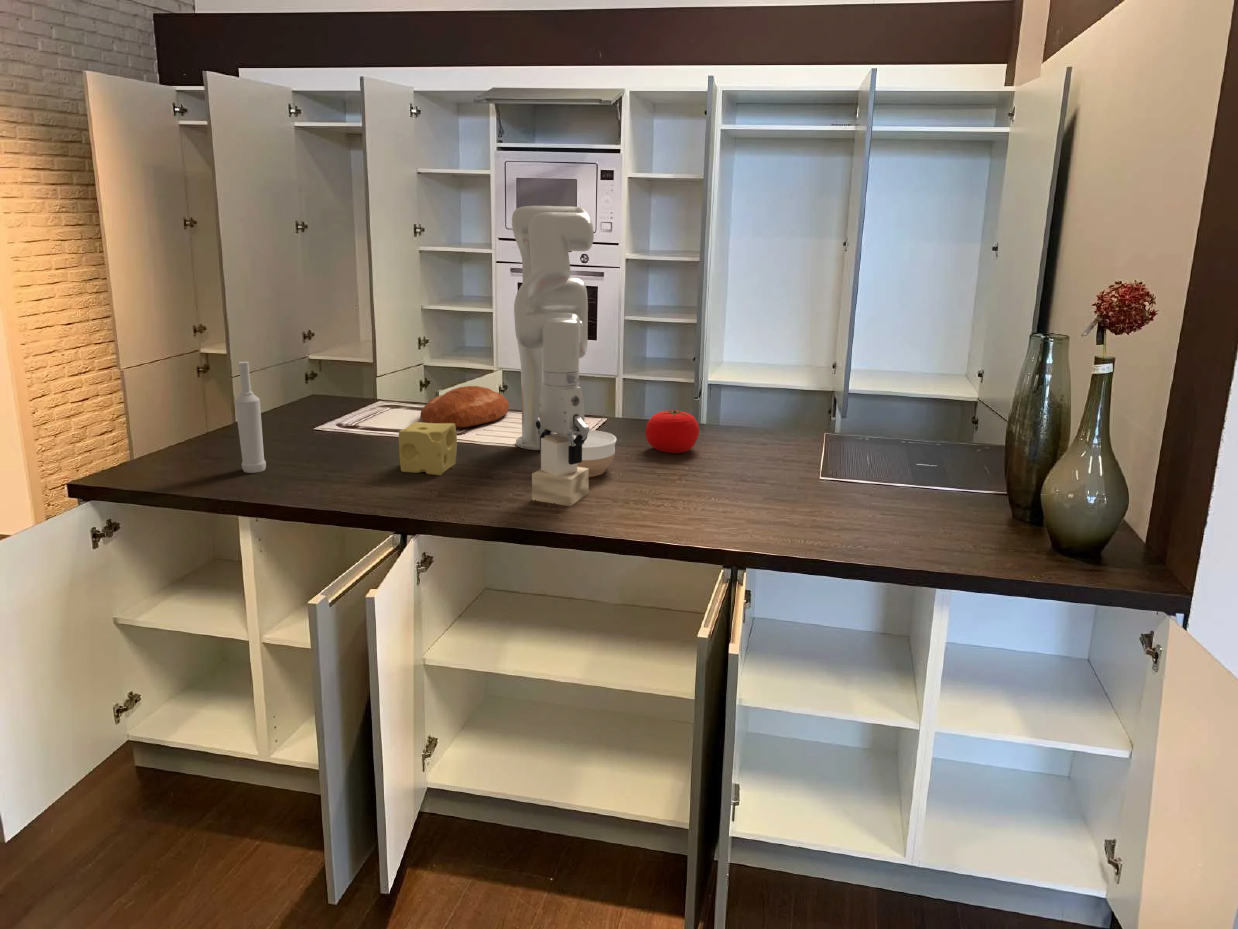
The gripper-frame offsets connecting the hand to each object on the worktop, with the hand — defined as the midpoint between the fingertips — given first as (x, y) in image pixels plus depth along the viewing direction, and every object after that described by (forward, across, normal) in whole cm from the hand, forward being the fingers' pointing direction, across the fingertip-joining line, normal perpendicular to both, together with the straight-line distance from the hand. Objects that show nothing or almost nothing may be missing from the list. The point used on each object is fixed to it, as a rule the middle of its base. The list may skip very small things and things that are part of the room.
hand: (560, 458), depth 191 cm
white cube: (+3, 0, 0) cm, 3 cm away
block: (+9, 0, 0) cm, 9 cm away
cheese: (+9, +36, +11) cm, 39 cm away
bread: (+9, +72, -23) cm, 76 cm away
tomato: (+9, +11, -45) cm, 47 cm away
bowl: (+9, +12, -16) cm, 22 cm away
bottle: (+9, +59, +43) cm, 74 cm away
